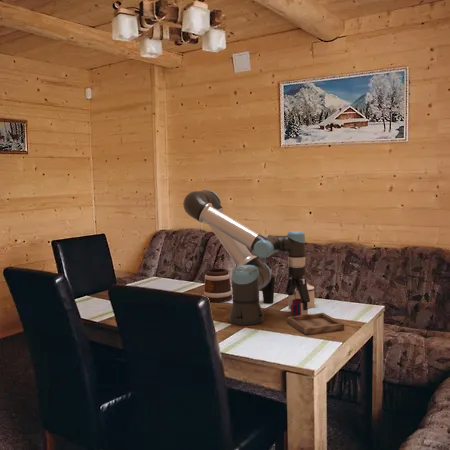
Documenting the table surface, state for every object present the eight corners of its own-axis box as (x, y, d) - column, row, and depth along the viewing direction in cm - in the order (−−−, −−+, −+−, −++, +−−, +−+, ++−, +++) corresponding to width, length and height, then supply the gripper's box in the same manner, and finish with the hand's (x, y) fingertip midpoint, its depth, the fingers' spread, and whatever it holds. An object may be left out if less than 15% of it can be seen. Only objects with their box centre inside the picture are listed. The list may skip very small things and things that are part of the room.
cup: (310, 315, 224) (310, 300, 223) (296, 319, 217) (295, 304, 216) (299, 312, 229) (299, 297, 228) (284, 316, 222) (284, 301, 222)
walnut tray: (305, 335, 196) (305, 329, 195) (287, 322, 213) (287, 316, 213) (344, 330, 200) (344, 324, 200) (323, 318, 218) (323, 312, 217)
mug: (238, 299, 256) (237, 270, 254) (213, 304, 247) (212, 274, 246) (217, 292, 272) (217, 265, 271) (193, 296, 264) (192, 268, 263)
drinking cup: (278, 301, 249) (278, 261, 247) (271, 305, 242) (270, 264, 241) (265, 299, 253) (264, 260, 251) (258, 303, 247) (257, 263, 245)
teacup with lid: (318, 305, 239) (318, 281, 238) (307, 309, 232) (307, 285, 231) (297, 301, 247) (297, 278, 246) (287, 305, 241) (286, 281, 240)
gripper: (317, 270, 210) (318, 319, 212) (293, 261, 234) (293, 305, 236) (301, 271, 208) (301, 321, 210) (278, 262, 232) (279, 307, 234)
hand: (297, 313), depth 223 cm, fingers open, 13 cm apart
